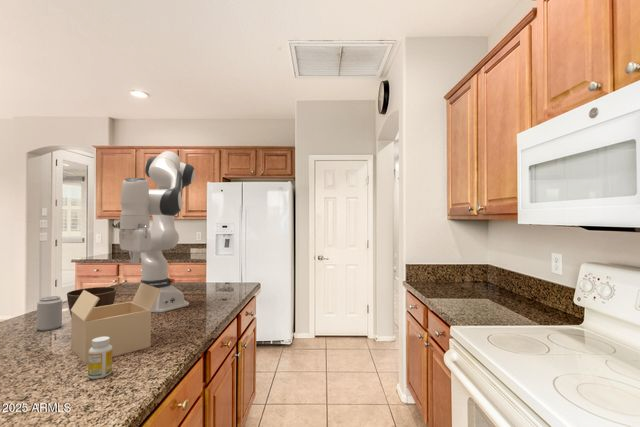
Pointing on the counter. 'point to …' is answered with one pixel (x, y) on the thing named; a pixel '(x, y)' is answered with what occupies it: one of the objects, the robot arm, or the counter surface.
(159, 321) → the counter surface
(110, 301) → the plant pot
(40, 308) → the can
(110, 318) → the carton
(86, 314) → the flap
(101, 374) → the supplement bottle
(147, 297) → the flap
